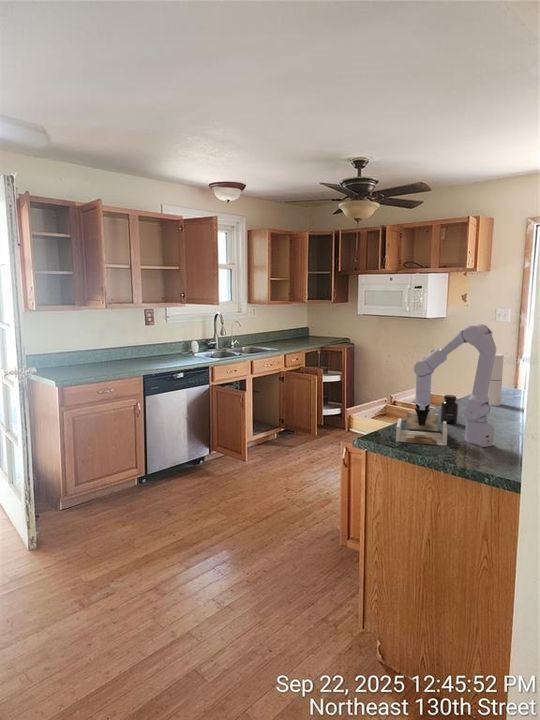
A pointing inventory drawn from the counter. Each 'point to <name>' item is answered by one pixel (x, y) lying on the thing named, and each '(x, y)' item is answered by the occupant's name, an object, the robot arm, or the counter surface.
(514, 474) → the counter surface
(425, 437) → the offcut stack
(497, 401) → the cylindrical container
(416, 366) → the robot arm
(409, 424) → the tall sheet
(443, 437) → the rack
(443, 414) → the supplement bottle
